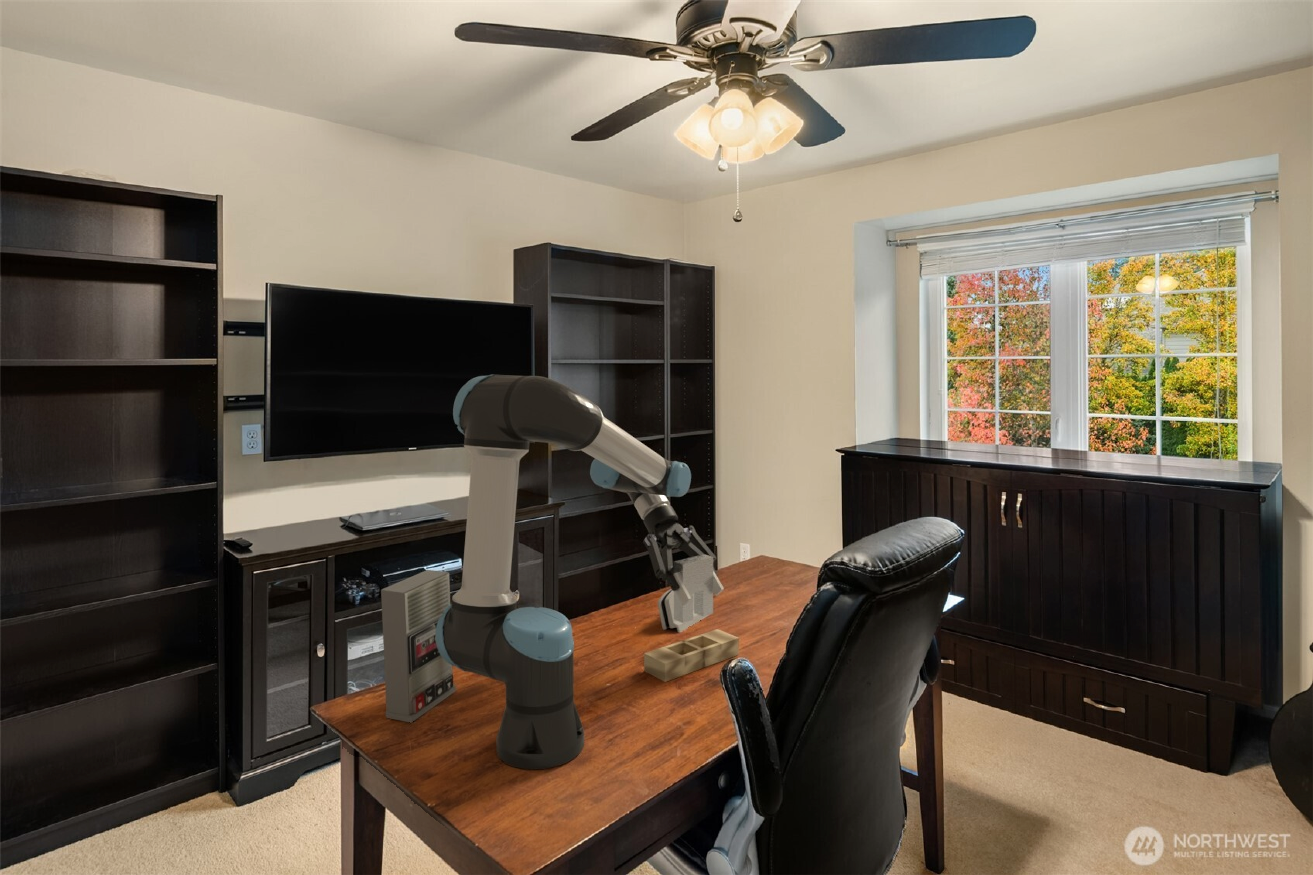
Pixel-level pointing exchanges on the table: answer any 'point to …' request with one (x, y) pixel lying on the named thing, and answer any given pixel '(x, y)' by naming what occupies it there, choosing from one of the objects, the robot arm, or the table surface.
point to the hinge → (668, 613)
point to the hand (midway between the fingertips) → (703, 596)
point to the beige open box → (690, 654)
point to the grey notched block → (695, 587)
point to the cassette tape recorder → (415, 645)
